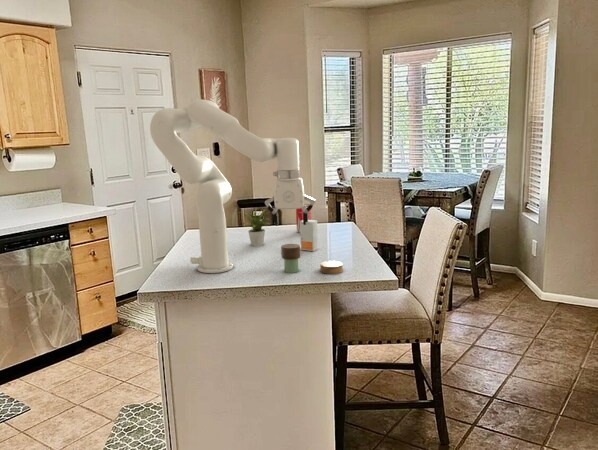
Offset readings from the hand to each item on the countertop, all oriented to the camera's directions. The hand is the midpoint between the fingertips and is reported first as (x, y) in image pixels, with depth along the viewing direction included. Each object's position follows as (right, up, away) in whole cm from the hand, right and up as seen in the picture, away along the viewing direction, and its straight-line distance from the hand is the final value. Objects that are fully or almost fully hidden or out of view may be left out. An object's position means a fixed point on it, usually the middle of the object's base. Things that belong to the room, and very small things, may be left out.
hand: (290, 224), depth 176 cm
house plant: (-16, -9, +42) cm, 46 cm away
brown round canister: (0, -11, +2) cm, 12 cm away
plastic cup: (0, -16, +3) cm, 17 cm away
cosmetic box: (+7, -10, +32) cm, 34 cm away
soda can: (+5, -4, +66) cm, 66 cm away
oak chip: (+14, -16, +2) cm, 21 cm away
